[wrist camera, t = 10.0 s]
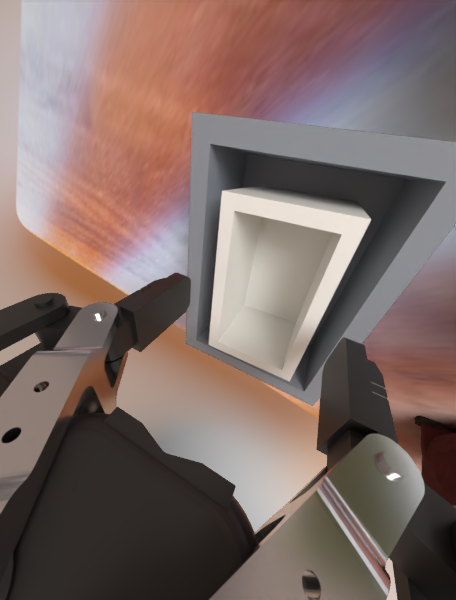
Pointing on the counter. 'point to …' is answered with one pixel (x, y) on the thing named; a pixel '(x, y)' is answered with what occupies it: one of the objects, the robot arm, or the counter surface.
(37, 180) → the counter surface
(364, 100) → the counter surface
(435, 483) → the mate gourd
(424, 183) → the slate crate
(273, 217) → the white crate
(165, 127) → the counter surface
